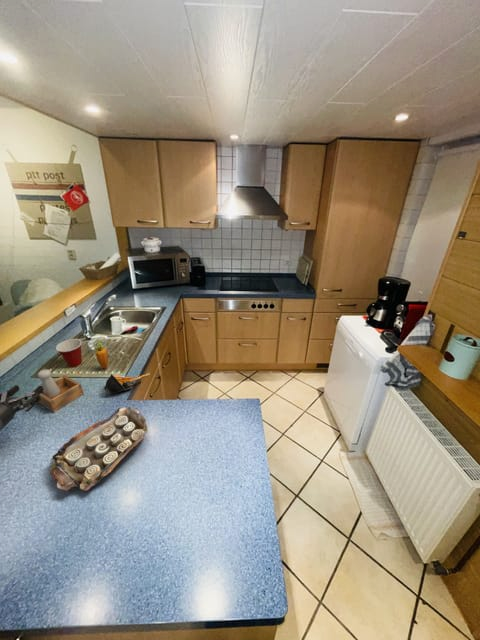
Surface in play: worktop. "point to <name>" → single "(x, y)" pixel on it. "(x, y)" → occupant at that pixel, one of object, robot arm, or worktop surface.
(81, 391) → the box
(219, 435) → the worktop surface
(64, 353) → the plastic cup
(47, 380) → the salt shaker
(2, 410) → the robot arm
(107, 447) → the baking tray
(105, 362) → the carrot
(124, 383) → the fried shrimp in bowl
